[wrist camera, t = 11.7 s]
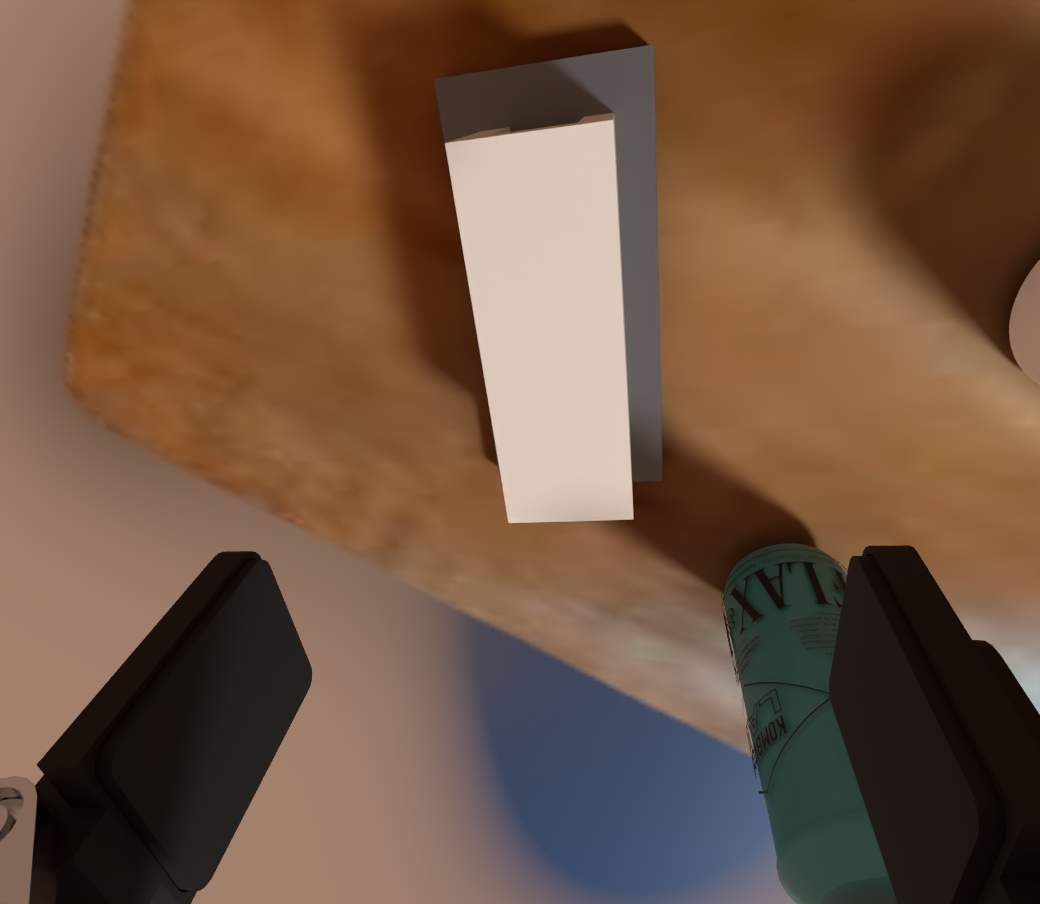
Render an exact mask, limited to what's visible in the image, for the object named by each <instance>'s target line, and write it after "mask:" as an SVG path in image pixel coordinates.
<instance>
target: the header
mask: <svg viewBox="0 0 1040 904" xmlns="http://www.w3.org/2000/svg"><path fill="white" fill-rule="evenodd" d="M434 85H435V91H436V97H437V103H438V109H439V115H440V121H441V127H442V133H443V139H444V145H445V143H447V142H450V141H453V140H456V139H459V138H462V137H465V136H468V135H471V134H474V133H478V132H481V131H486V130H494V129H501V128H508V127H510V132H514V131H521V130H528V129H536V128H543V127H550V126H557V125H564V124H571V123H578V122H579V121H580V120H581V119H582V118H583V117H586V116H593V115H600V114H607V113H614V122H615V142H616V162H617V182H618V202H619V222H620V242H621V262H622V282H623V302H624V322H625V342H626V362H627V382H628V402H629V422H630V442H631V466H632V482H652V481H663V464H662V416H661V369H660V321H659V273H658V225H657V177H656V129H655V82H654V45H647V46H641V47H635V48H628V49H622V50H615V51H609V52H603V53H596V54H590V55H583V56H577V57H570V58H564V59H558V60H551V61H545V62H538V63H532V64H526V65H519V66H513V67H506V68H500V69H494V70H487V71H481V72H474V73H468V74H462V75H455V76H449V77H442V78H436V79H434ZM445 151H446V147H445ZM446 157H447V153H446ZM447 162H448V159H447ZM448 168H449V165H448ZM449 174H450V171H449ZM450 180H451V176H450ZM451 186H452V182H451ZM452 192H453V188H452ZM453 198H454V194H453ZM454 204H455V200H454ZM455 210H456V206H455ZM456 216H457V212H456ZM457 222H458V218H457ZM458 228H459V224H458ZM459 234H460V230H459ZM460 240H461V236H460ZM461 246H462V242H461ZM462 252H463V248H462ZM463 258H464V254H463ZM464 264H465V260H464ZM465 270H466V266H465ZM466 276H467V272H466ZM467 282H468V278H467ZM468 288H469V284H468ZM469 294H470V290H469ZM470 300H471V296H470ZM471 306H472V302H471ZM472 312H473V307H472ZM473 318H474V313H473ZM474 324H475V319H474ZM475 330H476V325H475ZM476 336H477V331H476ZM477 342H478V337H477ZM478 348H479V343H478ZM479 354H480V349H479ZM480 360H481V355H480ZM481 366H482V361H481ZM482 372H483V367H482ZM483 378H484V373H483ZM484 384H485V379H484ZM485 390H486V385H485ZM486 396H487V391H486ZM487 402H488V397H487ZM488 408H489V403H488ZM489 414H490V409H489ZM490 420H491V415H490ZM491 426H492V421H491ZM492 432H493V427H492ZM493 438H494V433H493ZM494 444H495V439H494ZM495 450H496V444H495ZM496 456H497V450H496ZM497 462H498V456H497ZM498 468H499V462H498ZM499 474H500V468H499ZM500 480H501V474H500ZM501 486H502V480H501ZM502 487H503V486H502Z"/></svg>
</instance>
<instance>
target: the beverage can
mask: <svg viewBox="0 0 1040 904" xmlns="http://www.w3.org/2000/svg"><path fill="white" fill-rule="evenodd" d="M1009 339H1010V345H1011V349H1012V352H1013V355H1014V357H1015V360H1016V361H1017V363H1018V365H1019V366H1020V368H1021V369H1022V370H1023V372H1024V373H1025V374H1026V375H1027V376H1028V377H1029V378H1031V379H1032V380H1033V381H1034V382H1036V383H1037V384H1039V385H1040V260H1039V261H1038V262H1037V263H1036V265H1035V266H1034V267H1033V268H1032V270H1031V271H1030V273H1029V274H1028V276H1027V277H1026V279H1025V280H1024V282H1023V284H1022V286H1021V288H1020V290H1019V292H1018V294H1017V296H1016V299H1015V302H1014V305H1013V308H1012V311H1011V316H1010V323H1009Z"/></svg>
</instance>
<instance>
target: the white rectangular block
mask: <svg viewBox="0 0 1040 904" xmlns="http://www.w3.org/2000/svg"><path fill="white" fill-rule="evenodd" d="M445 147H446V153H447V159H448V165H449V171H450V176H451V182H452V188H453V194H454V200H455V206H456V212H457V218H458V224H459V230H460V236H461V242H462V248H463V254H464V260H465V266H466V272H467V278H468V284H469V290H470V296H471V302H472V307H473V313H474V319H475V325H476V331H477V337H478V343H479V349H480V355H481V361H482V367H483V373H484V379H485V385H486V391H487V397H488V403H489V409H490V415H491V421H492V427H493V433H494V439H495V444H496V450H497V456H498V462H499V468H500V474H501V480H502V486H503V492H504V498H505V504H506V510H507V516H508V522H509V523H526V522H563V521H600V520H634V518H633V492H632V466H631V442H630V422H629V402H628V382H627V362H626V342H625V322H624V302H623V282H622V262H621V242H620V222H619V202H618V182H617V162H616V142H615V122H614V113H607V114H600V115H593V116H586V117H583V118H582V119H581V120H580V121H579V122H578V123H571V124H564V125H557V126H550V127H543V128H536V129H528V130H521V131H514V132H510V127H508V128H501V129H494V130H486V131H481V132H478V133H474V134H471V135H468V136H465V137H462V138H459V139H456V140H453V141H450V142H447V143H445Z"/></svg>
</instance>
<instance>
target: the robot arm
mask: <svg viewBox="0 0 1040 904" xmlns="http://www.w3.org/2000/svg"><path fill="white" fill-rule="evenodd" d="M311 681H312V669H311V665H310V663H309V660H308V658H307V655H306V653H305V650H304V648H303V645H302V643H301V640H300V638H299V636H298V633H297V631H296V628H295V626H294V623H293V621H292V618H291V616H290V613H289V611H288V609H287V606H286V604H285V601H284V599H283V596H282V594H281V591H280V589H279V586H278V584H277V582H276V579H275V577H274V574H273V572H272V570H271V567H270V565H269V563H268V562H267V561H265V560H262V559H261V557H260V555H259V554H257V553H256V552H252V551H245V552H244V551H243V552H242V551H240V552H221V553H218V555H216V556H215V557H214V558H213V559H212V560H211V562H210V563H209V564H208V565H207V566H206V568H204V570H203V571H202V572H201V573H200V574H199V576H198V577H197V578H196V579H195V580H194V581H193V583H192V584H191V585H190V586H189V587H188V588H187V590H186V591H185V592H184V593H183V594H182V595H181V597H180V598H179V599H178V600H177V601H176V602H175V604H174V605H173V606H172V607H171V608H170V609H169V611H168V612H167V613H166V614H165V615H164V616H163V618H162V619H161V620H160V621H159V622H158V623H157V625H156V626H155V627H154V628H153V629H152V631H151V632H150V633H149V634H148V635H147V636H146V638H145V639H144V640H143V641H142V642H141V643H140V645H139V646H138V647H137V648H136V649H135V650H134V651H133V653H132V654H131V655H130V656H129V657H128V659H127V660H126V661H125V662H124V663H123V664H122V666H121V667H120V668H119V669H118V670H117V672H116V673H115V674H114V675H113V676H112V677H111V678H110V680H109V681H108V682H107V683H106V684H105V685H104V687H103V688H102V689H101V690H100V691H99V693H98V694H97V695H96V696H95V697H94V698H93V699H92V701H91V702H90V703H89V704H88V706H87V707H86V708H85V709H84V710H83V711H82V712H81V713H80V715H79V716H78V717H77V718H76V719H75V720H74V722H73V723H72V724H71V725H70V726H69V728H68V729H67V730H66V731H65V732H64V733H63V735H62V736H61V737H60V738H59V739H58V740H57V742H56V743H55V744H54V745H53V746H52V747H51V749H50V750H49V751H48V752H47V753H46V754H45V756H44V757H43V758H42V759H41V760H40V761H39V763H38V764H37V766H38V767H39V768H40V770H41V771H42V772H43V773H44V775H43V777H42V778H41V779H40V780H39V781H38V783H37V784H36V785H34V784H33V783H31V781H29V780H28V779H27V778H21V777H15V776H14V777H8V778H1V779H0V904H191V902H192V900H193V898H194V896H195V894H196V892H197V891H200V890H201V889H203V888H204V887H205V886H206V885H207V884H208V883H209V881H210V880H211V878H212V877H213V874H214V873H215V871H216V869H217V867H218V865H219V863H220V861H221V859H222V857H223V855H224V853H225V851H226V849H227V847H228V845H229V844H230V842H231V840H232V838H233V836H234V834H235V832H236V830H237V828H238V826H239V824H240V822H241V820H242V818H243V816H244V814H245V812H246V810H247V809H248V806H249V805H250V803H251V801H252V799H253V797H254V795H255V793H256V791H257V789H258V787H259V785H260V783H261V781H262V779H263V777H264V775H265V773H266V771H267V770H268V768H269V766H270V764H271V762H272V760H273V758H274V756H275V754H276V752H277V750H278V748H279V746H280V744H281V742H282V740H283V739H284V737H285V735H286V733H287V731H288V729H289V727H290V725H291V723H292V721H293V719H294V717H295V715H296V713H297V711H298V709H299V707H300V705H301V704H302V702H303V700H304V698H305V696H306V694H307V692H308V690H309V688H310V685H311ZM829 693H830V700H831V704H832V708H833V711H834V714H835V717H836V720H837V723H838V726H839V729H840V732H841V735H842V738H843V741H844V744H845V747H846V750H847V753H848V756H849V759H850V762H851V765H852V768H853V771H854V774H855V777H856V780H857V783H858V786H859V789H860V792H861V795H862V798H863V801H864V804H865V807H866V810H867V813H868V816H869V819H870V822H871V825H872V828H873V831H874V834H875V837H876V840H877V843H878V846H879V849H880V852H881V855H882V858H883V861H884V864H885V867H886V870H887V873H888V876H889V879H890V882H891V885H892V888H893V891H894V894H895V897H896V900H897V903H898V904H1040V715H1039V713H1038V711H1037V710H1036V708H1035V707H1034V705H1033V704H1032V702H1031V701H1030V699H1029V698H1028V696H1027V695H1026V693H1025V692H1024V690H1023V689H1022V687H1021V686H1020V684H1019V683H1018V681H1017V679H1016V678H1015V676H1014V675H1013V673H1012V672H1011V670H1010V669H1009V667H1008V666H1007V664H1006V663H1005V661H1004V660H1003V658H1002V657H1001V655H1000V654H999V653H998V652H997V650H996V649H995V648H994V647H993V646H992V645H991V644H989V643H987V642H986V641H982V640H972V639H971V637H970V636H969V634H968V633H967V631H966V629H965V628H964V626H963V625H962V623H961V621H960V620H959V618H958V617H957V615H956V613H955V612H954V610H953V609H952V607H951V605H950V604H949V602H948V600H947V599H946V597H945V596H944V594H943V592H942V591H941V589H940V588H939V586H938V584H937V583H936V581H935V580H934V578H933V576H932V575H931V573H930V572H929V570H928V568H927V567H926V565H925V564H924V562H923V560H922V559H921V557H920V556H919V554H918V552H917V551H916V550H915V549H914V547H912V546H867V547H866V548H865V549H864V551H863V555H862V556H853V557H852V558H851V559H850V562H849V568H848V573H847V579H846V585H845V591H844V597H843V603H842V609H841V614H840V620H839V626H838V632H837V638H836V644H835V650H834V656H833V661H832V667H831V673H830V679H829Z"/></svg>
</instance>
